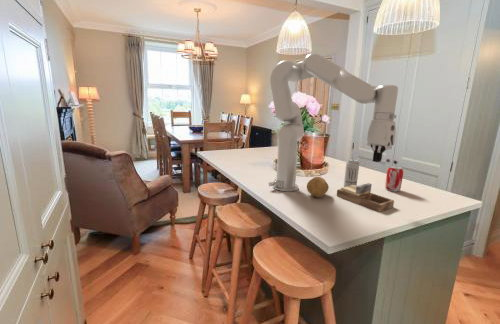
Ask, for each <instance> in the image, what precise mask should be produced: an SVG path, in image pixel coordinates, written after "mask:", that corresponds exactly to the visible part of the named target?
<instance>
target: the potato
mask: <svg viewBox="0 0 500 324" xmlns="http://www.w3.org/2000/svg"><path fill="white" fill-rule="evenodd" d="M329 187H330V186H329V184H328V183H327V181H326V180H325V179H324V178H323V177H321V176H315V177H313V178H311V179H309V181H308V182H307V184H306V190H307V192H308V193H309V194H310V195H311V196H313V197H315V198H320V197H323V196H325V195H326V194H327V192H328V191H329Z"/></svg>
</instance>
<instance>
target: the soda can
mask: <svg viewBox="0 0 500 324" xmlns="http://www.w3.org/2000/svg"><path fill="white" fill-rule="evenodd" d="M385 176H386V177H385V183H384V188H385V189H386V190H387V191H389V192H393V193H394V192H395V193H396V192H397V193H398V192H399V191H400V190H401V188H402V184H403V183H402V182H403V177H404V170H403V167H402V166H399V165H389V167H388V169H387V171H386V175H385Z"/></svg>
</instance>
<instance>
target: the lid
mask: <svg viewBox="0 0 500 324" xmlns="http://www.w3.org/2000/svg"><path fill="white" fill-rule="evenodd" d="M340 189H341V190H342V191H345V192H348V193H351V194H354V195H357V196H361V195H364V194H367V193H371V190H372V183H369V182H368V183H363V184H360V185H357V186H355V185H351V186H347V187H344V186H343V187H341V188H340Z"/></svg>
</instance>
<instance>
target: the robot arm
mask: <svg viewBox="0 0 500 324" xmlns="http://www.w3.org/2000/svg"><path fill="white" fill-rule="evenodd" d="M314 77H315V78H316V79H318V80H319V81H321V82H323V83H325V84H326V85H328V86H329V87H331V88H333V89H335V90H337V91H339V92H341V93H342V94H344V95H346V96H347V97H348V98H351V100H352V99H353V100H354V101H355V102H357V103H360V104H361V105H362V104H363V105H365V104H374V108H373V115H372V119H371V120H370V124H369V128H368V131H367V135H366V136H367V137H366V141H367V146H369V147H370V148H371V150H372V153H373V155H372V162H375V163H380V162H382V160H383V159H382V158H383V154H384V153H385V151H387V150H392V146H394V145H395V143H396V134H397V131H396V130H397V129H396V121H394V119H397V115H396V114H395V111H396V107H397V98H398V93H399V87H398V85H394V84H384V85H383V84H382V85H377V86H376V85H371V84H370V83H368V82H366V81H365V80H363V79H361V78H359V77H357V76H356V75H354V74H352V73H350V72H349V71H348V70H347V69H345V68H343V67H342V66H340V65H339V64H337V63H336V62H333V61H331V60H330V59H328V58H326V57H324V56H323V55H321V54H319V53H316V52H312V53H309V54H307V55H306V56H305V58H304V59H303V60H302V61H299V62H295V61H292V60H289V59H288V60H287V59H286V60H285V59H284V60H281V61H280V62H278V63H277V64H276V65H275V66H274V67H273V69H272V71H271V74H270V77H269V79H270V80H269V82H270V89H271V95H272V101H273V105H274V106H273V107H274V112H275V117H276V118H277V121H280V122H283V125H282V126H281V127H280V128H279V129H278V131H277V133H276V141H277V158H276V159H277V161H276V178H274V180H273V181H270V182H268V187H272V188H273V189H275V190H277V191H281V192H296V191H298V189H299V185H298V184H297V183H296V179H297V163H298V142H299V141H300V140H302V138H303V137H304V136H305V135H304V134H305V130H304V129H305V128H304V123H303V118H302V117H303V116H302V112H301V111H302V110H301V108H300V106H299V105H298V103H296V102H294V101H293V99H292V93H291V89H290V85H289V82H292V83H293V82H299V81H304V80H307V79H310V78H311V79H312V78H314Z"/></svg>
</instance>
